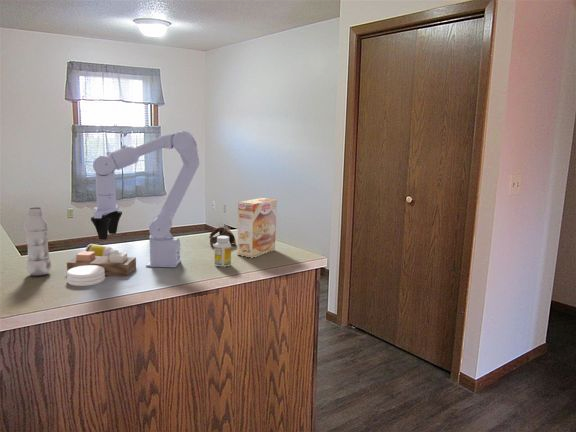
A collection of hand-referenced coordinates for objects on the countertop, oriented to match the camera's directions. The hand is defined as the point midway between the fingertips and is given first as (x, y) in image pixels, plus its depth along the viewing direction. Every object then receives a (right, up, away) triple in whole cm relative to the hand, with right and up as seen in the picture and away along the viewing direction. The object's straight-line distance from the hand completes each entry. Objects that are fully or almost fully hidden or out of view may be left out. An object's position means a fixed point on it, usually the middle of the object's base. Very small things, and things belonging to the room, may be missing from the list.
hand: (107, 236), depth 147 cm
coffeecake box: (+46, -7, +22) cm, 52 cm away
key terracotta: (-5, -8, -5) cm, 10 cm away
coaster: (-1, -13, -14) cm, 19 cm away
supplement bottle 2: (+36, -10, +6) cm, 38 cm away
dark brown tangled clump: (+32, -5, +32) cm, 46 cm away
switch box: (0, -10, -5) cm, 11 cm away
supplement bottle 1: (-9, -5, +6) cm, 12 cm away
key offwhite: (+5, -8, -5) cm, 11 cm away
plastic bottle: (-16, -11, -10) cm, 22 cm away
